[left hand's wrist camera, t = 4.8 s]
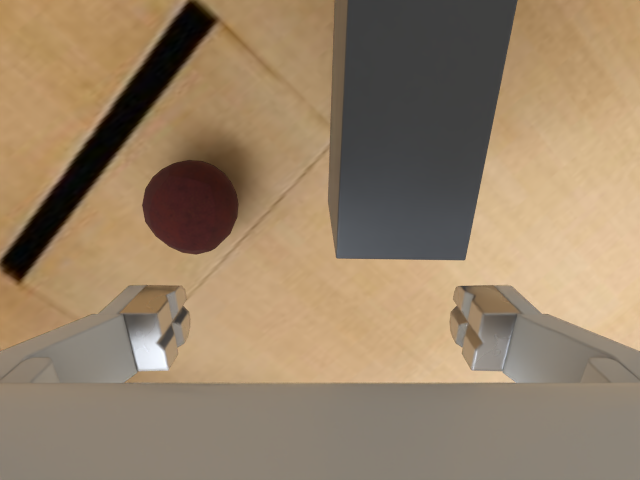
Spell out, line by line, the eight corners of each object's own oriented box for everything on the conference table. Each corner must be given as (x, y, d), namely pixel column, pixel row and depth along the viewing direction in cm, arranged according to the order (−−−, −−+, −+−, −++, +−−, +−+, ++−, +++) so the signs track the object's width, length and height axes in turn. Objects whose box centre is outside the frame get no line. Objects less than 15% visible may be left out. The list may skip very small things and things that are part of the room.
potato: (252, 166, 30) (234, 183, 23) (237, 244, 33) (217, 278, 26) (168, 143, 29) (126, 154, 23) (160, 225, 32) (120, 256, 25)
